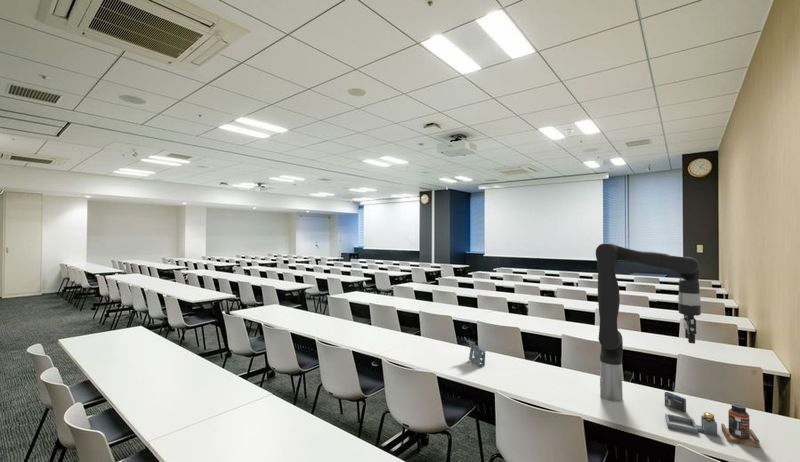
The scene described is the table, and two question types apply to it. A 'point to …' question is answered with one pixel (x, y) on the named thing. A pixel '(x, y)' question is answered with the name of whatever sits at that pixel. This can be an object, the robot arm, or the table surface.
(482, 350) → the bracket
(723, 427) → the brown curved tray
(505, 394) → the table surface
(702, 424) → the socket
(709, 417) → the brass knob
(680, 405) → the mini dv tape
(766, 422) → the table surface
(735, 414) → the supplement bottle
